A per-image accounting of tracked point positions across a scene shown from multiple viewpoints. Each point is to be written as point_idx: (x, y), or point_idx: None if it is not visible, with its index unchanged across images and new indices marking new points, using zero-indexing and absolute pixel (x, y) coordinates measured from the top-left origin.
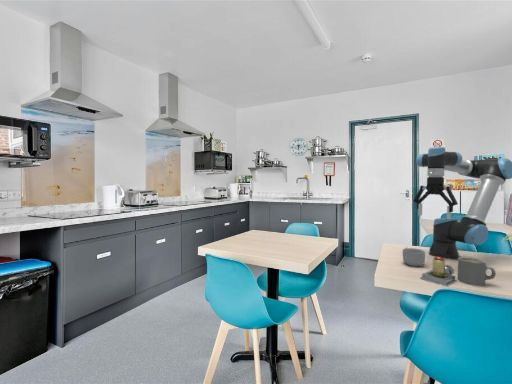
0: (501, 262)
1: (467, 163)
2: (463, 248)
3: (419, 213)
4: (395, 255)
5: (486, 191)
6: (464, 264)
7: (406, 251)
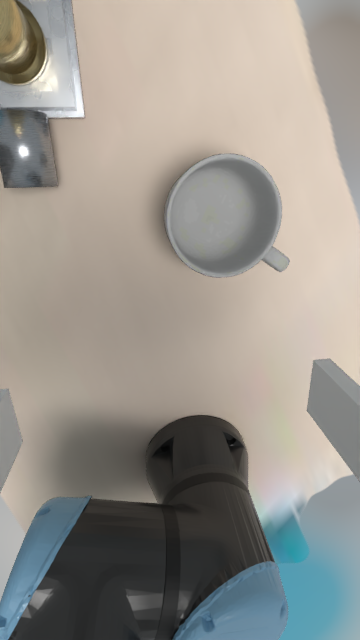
0: None
1: None
2: None
3: (331, 373)
4: (323, 291)
5: None
6: None
7: (266, 233)
